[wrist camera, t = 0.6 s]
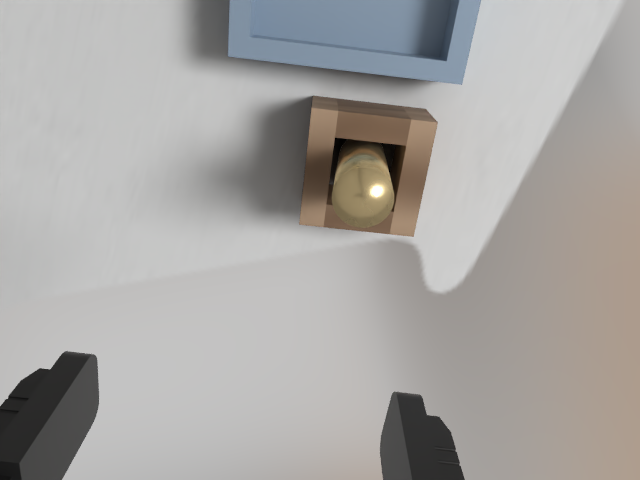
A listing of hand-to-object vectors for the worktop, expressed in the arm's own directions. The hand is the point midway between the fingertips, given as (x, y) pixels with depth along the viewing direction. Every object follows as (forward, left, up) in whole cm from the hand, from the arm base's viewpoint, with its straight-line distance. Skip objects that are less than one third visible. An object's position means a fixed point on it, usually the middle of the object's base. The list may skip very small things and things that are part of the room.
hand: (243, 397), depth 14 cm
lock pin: (0, +5, -24) cm, 24 cm away
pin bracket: (0, +5, -24) cm, 25 cm away
